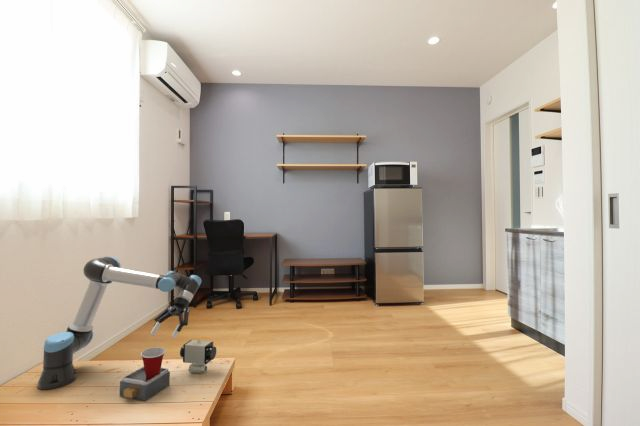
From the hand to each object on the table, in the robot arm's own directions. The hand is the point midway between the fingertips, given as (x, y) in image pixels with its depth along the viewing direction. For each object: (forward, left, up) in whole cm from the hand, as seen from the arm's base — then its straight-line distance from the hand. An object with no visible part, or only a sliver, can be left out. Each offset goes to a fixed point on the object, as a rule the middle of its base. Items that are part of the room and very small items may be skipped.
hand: (162, 335), depth 161 cm
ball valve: (+12, +14, -23) cm, 30 cm away
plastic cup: (+3, -9, -16) cm, 19 cm away
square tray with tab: (0, -11, -23) cm, 26 cm away
